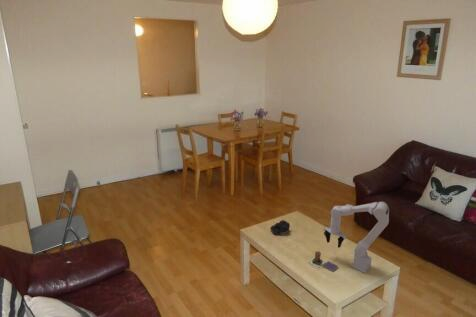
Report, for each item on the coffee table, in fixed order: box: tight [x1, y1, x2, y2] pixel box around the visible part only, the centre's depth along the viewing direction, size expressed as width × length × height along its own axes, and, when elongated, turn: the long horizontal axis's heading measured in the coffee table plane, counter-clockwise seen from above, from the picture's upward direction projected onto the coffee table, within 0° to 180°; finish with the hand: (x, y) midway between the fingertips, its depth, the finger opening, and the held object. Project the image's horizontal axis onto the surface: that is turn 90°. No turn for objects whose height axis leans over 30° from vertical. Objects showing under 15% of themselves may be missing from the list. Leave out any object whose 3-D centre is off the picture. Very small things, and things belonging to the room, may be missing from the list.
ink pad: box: [322, 260, 339, 273], centre depth 205 cm, size 7×6×1 cm
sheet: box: [306, 256, 328, 270], centre depth 210 cm, size 9×9×1 cm
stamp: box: [312, 251, 323, 266], centre depth 209 cm, size 4×4×7 cm
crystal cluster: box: [269, 219, 291, 236], centre depth 244 cm, size 13×14×10 cm
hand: (333, 244), depth 211 cm, fingers open, 7 cm apart
